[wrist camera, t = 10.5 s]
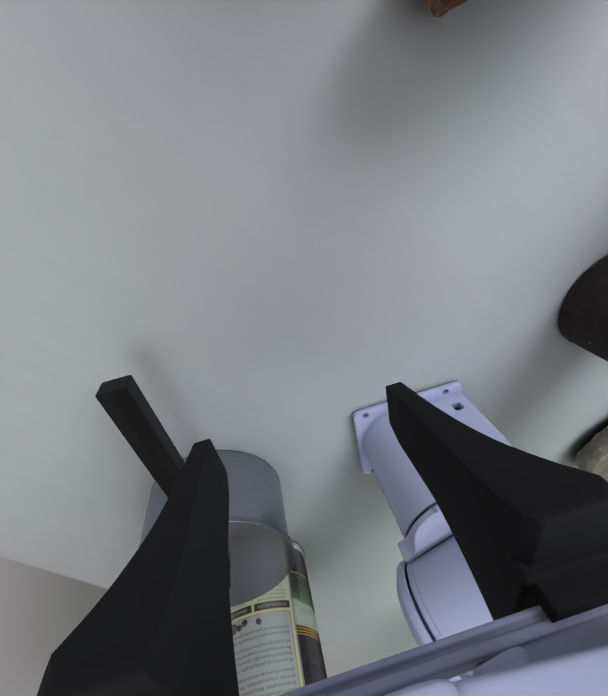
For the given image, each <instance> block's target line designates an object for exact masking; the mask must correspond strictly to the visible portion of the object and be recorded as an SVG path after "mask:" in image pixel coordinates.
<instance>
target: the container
mask: <svg viewBox="0 0 608 696" xmlns="http://www.w3.org/2000/svg"><path fill="white" fill-rule="evenodd" d="M559 327H560V331H561V333H562V335H563V336H564V337H565V338H566V339H568V340H569V341H570V342H573V343H575V344H577V345H578V346H580V347H582V348H584V349H586V350H588V351H590V352H591V353H593V354H595V355H597V356H599V357H601V358H603V359H604V360H606V361H608V256H606V257H605V258H603V259H602V260H601V261H599V262H598V263H597V264H595V265H594V266H593V267H592V268H591V269H589V270H588V271H587V272H586V273H585V274H584V275H583V276H582V277H581V279H580V280H579V281H578V282H577V283H576V285H575V286H574V287H573V289H572V290H571V291H570V293H569V295H568V296H567V298H566V300H565V302H564V305H563V307H562V310H561V314H560V323H559Z"/></svg>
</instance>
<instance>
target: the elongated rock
mask: <svg viewBox="0 0 608 696" xmlns="http://www.w3.org/2000/svg"><path fill="white" fill-rule="evenodd" d="M576 462H577V465H578V468H579V469H580V470H583V471H587V472H590V473H594V474H598V475H600V476H601V477H602V478H604V479H605V480H606V481H607V482H608V426H606V427H605V428H604V429H603V430H602V431H600V432H599V433H596V434H595V436H594V437H593V438H592V439H591V441H590V442H589V443H587V444H586V445H585V446H584V448H582V450H581V451H579V452H578V453H577V456H576Z"/></svg>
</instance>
